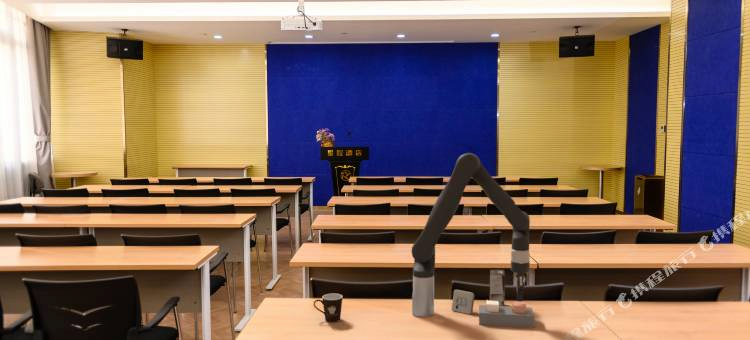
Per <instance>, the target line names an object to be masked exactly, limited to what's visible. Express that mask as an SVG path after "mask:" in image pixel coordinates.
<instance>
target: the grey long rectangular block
mask: <svg viewBox="0 0 750 340" xmlns="http://www.w3.org/2000/svg"><path fill="white" fill-rule="evenodd" d="M478 308H479V309H478V325H481V326H496V327H498V326H499V327H514V328H515V327H516V328H530V329H532V328H533V329H534V328H535V314H534V310H533V307H527V306H526V314H524V313H513V306H507V305H504V306H499V312H487V311H486V304H479V305H478Z"/></svg>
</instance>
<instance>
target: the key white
mask: <svg viewBox="0 0 750 340" xmlns="http://www.w3.org/2000/svg"><path fill="white" fill-rule="evenodd" d="M485 305H486V311H487V312H499V301H490V299H489V300H488V299H486V304H485Z"/></svg>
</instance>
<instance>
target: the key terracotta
mask: <svg viewBox="0 0 750 340" xmlns="http://www.w3.org/2000/svg"><path fill="white" fill-rule="evenodd" d="M512 307H513V313H524V314H526V307H527V304H526V302H524V301H512Z"/></svg>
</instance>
